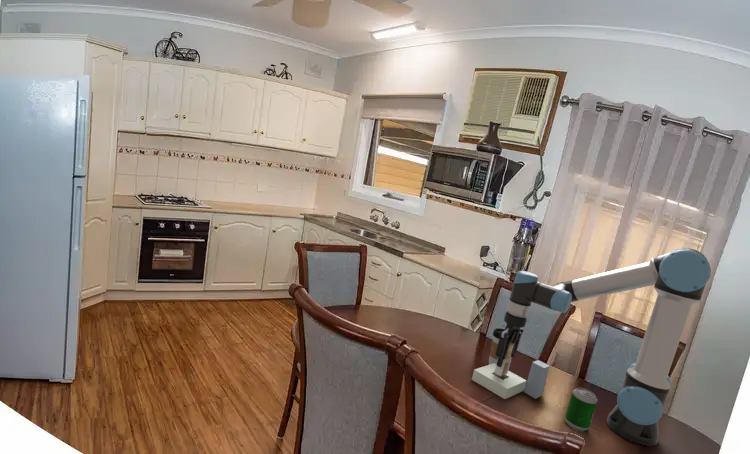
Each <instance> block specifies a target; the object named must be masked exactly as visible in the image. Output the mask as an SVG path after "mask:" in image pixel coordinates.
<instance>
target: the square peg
mask: <svg viewBox="0 0 750 454" xmlns="http://www.w3.org/2000/svg"><path fill="white" fill-rule="evenodd" d="M550 367H551V365H549V364H547V363H545V362H544V361H541V360H540V359H537V360H534V361H532V363H531V366H530V369H529V373H528V377H527V382H526V385H525V389H524V391H523V392H524V394H527V395H528V396H530V397H532V398H533V399H535V400H537V399H538V398H540V397H542V395H543V392H544V387H545V384H546V381H547V379H548V378H547V377H548V374H549V372H550V371H549V370H550Z"/></svg>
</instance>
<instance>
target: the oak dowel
mask: <svg viewBox="0 0 750 454" xmlns="http://www.w3.org/2000/svg"><path fill="white" fill-rule="evenodd" d="M513 346H514V343H512V342H511V343H510V346H509V348H508V351H507V354H506V357H505V359H506V361H505V365H504V369H503V372H502V376H499V375H497V374H496V373H495V376H497V377H499V378H501V379H502V380H504V379H505V375H506V371H507V368H508V364H509V360H510V357H511V353H512V349H513Z"/></svg>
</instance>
